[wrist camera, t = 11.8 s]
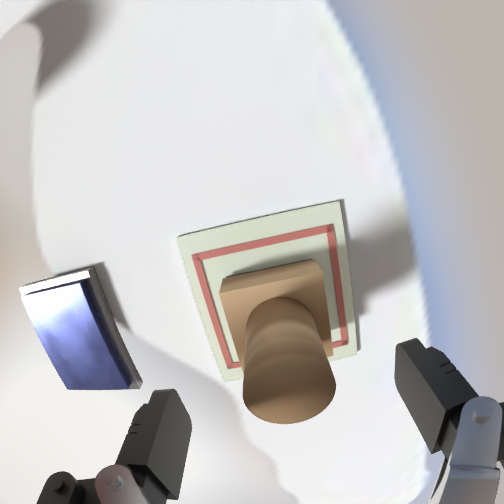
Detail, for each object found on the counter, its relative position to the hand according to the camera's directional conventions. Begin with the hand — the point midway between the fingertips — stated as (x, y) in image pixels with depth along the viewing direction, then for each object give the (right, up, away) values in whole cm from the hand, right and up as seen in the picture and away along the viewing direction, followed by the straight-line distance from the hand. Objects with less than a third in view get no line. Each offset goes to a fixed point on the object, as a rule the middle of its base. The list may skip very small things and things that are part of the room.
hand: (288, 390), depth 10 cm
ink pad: (-14, -1, +9) cm, 16 cm away
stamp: (0, +2, +8) cm, 8 cm away
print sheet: (0, +2, +8) cm, 8 cm away
